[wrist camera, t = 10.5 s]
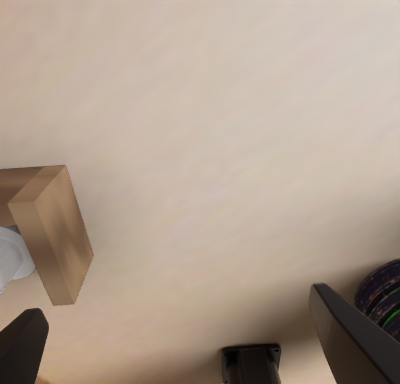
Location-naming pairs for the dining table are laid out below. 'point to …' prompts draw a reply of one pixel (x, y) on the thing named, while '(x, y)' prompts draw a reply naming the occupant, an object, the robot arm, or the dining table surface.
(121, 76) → the dining table surface
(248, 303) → the dining table surface
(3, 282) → the bolt
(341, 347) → the robot arm
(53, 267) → the slot bracket
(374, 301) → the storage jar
